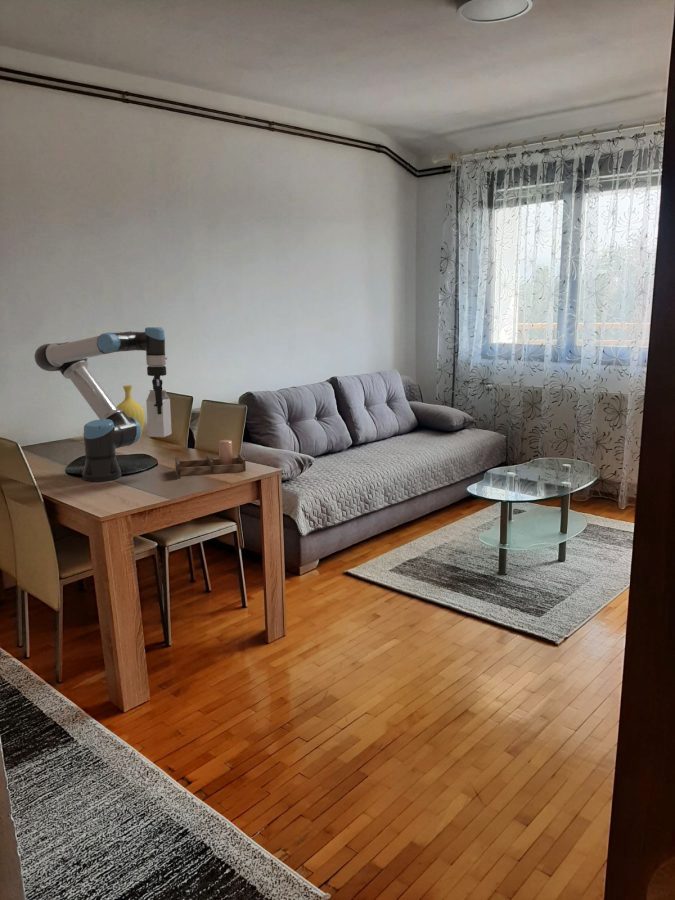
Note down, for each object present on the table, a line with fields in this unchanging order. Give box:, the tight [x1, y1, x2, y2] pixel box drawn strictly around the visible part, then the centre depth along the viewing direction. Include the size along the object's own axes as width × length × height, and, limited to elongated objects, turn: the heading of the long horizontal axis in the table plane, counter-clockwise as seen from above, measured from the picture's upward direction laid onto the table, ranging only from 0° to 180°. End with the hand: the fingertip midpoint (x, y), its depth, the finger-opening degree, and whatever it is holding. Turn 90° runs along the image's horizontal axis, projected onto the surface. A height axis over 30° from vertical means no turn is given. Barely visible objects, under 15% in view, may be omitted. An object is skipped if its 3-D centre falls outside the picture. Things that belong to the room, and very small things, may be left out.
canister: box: [218, 439, 233, 465], centre depth 284 cm, size 6×6×12 cm
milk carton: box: [145, 389, 172, 438], centre depth 273 cm, size 7×7×19 cm
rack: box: [174, 452, 247, 479], centre depth 283 cm, size 28×14×6 cm, turn 107°
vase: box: [116, 384, 146, 437], centre depth 358 cm, size 16×16×28 cm
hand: (159, 419), depth 273 cm, fingers closed on milk carton, 9 cm apart
